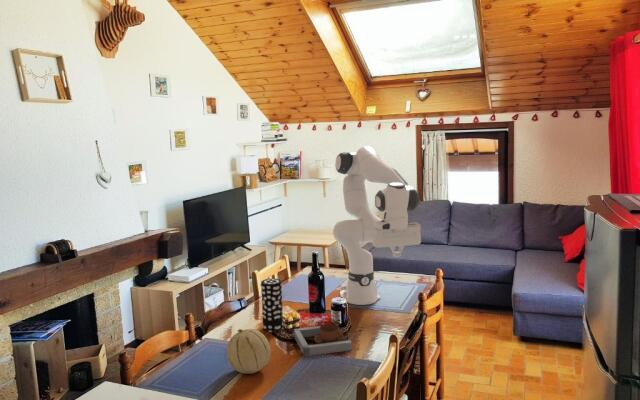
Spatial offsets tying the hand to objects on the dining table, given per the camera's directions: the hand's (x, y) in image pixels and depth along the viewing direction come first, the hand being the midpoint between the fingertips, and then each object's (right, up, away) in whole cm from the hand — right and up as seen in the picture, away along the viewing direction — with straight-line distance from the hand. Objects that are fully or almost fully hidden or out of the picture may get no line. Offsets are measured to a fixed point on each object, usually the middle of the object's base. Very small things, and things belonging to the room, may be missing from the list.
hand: (396, 256), depth 214 cm
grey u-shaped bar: (-30, -32, -12) cm, 45 cm away
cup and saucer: (-28, -32, -12) cm, 44 cm away
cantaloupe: (-55, -36, -34) cm, 74 cm away
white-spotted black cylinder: (-51, -30, +3) cm, 59 cm away
